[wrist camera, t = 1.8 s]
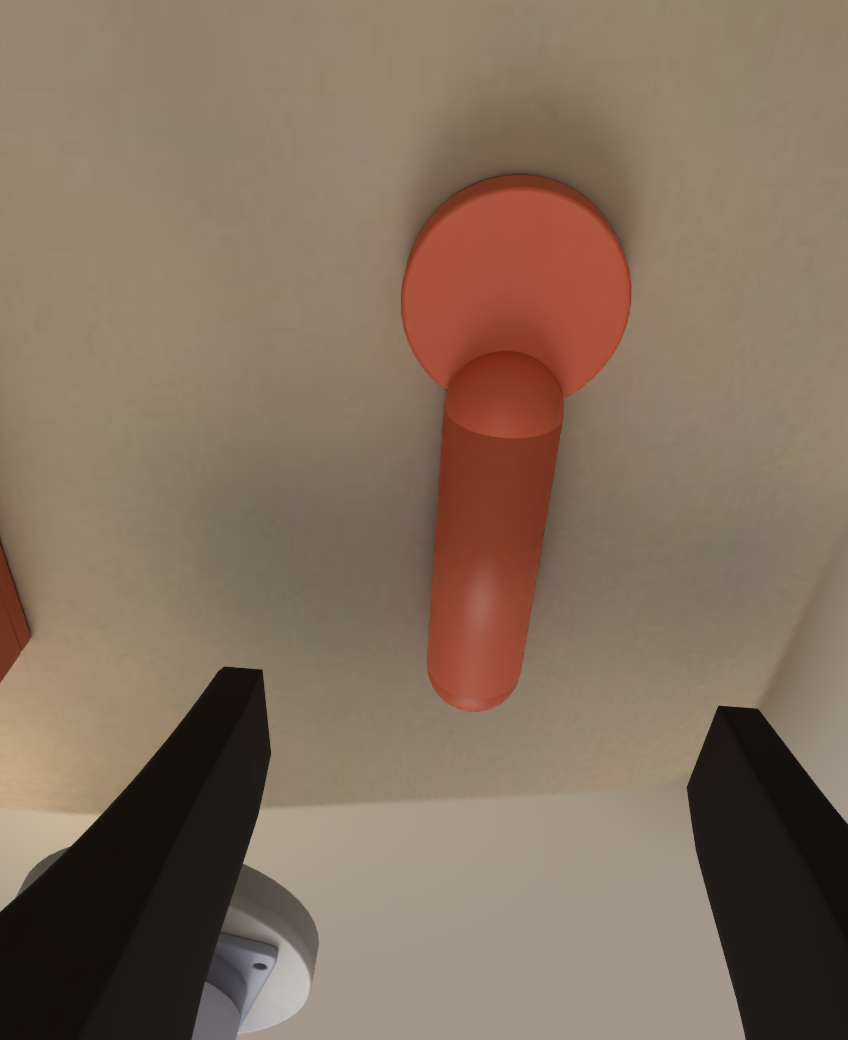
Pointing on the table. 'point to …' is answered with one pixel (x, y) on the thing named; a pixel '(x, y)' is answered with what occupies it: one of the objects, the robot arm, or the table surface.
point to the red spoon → (503, 401)
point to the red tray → (10, 621)
